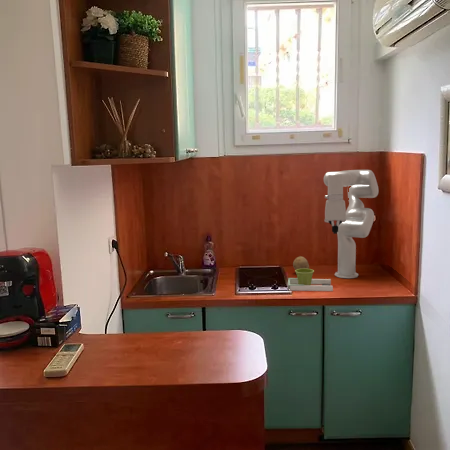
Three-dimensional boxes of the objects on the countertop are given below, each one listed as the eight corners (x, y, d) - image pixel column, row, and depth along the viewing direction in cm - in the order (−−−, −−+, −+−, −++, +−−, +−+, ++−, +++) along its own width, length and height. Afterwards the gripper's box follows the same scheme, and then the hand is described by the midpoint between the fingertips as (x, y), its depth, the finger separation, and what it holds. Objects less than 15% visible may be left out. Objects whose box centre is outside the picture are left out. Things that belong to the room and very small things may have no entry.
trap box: (288, 283, 246) (288, 278, 246) (330, 283, 243) (330, 278, 243) (288, 290, 233) (287, 284, 233) (332, 291, 230) (332, 285, 230)
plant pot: (313, 290, 233) (313, 273, 232) (294, 289, 235) (294, 272, 234) (314, 285, 242) (314, 268, 241) (296, 284, 244) (296, 268, 243)
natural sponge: (292, 271, 270) (292, 254, 269) (307, 271, 270) (307, 254, 269) (293, 275, 261) (293, 258, 260) (309, 275, 261) (309, 258, 260)
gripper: (320, 198, 232) (320, 234, 235) (351, 198, 230) (351, 234, 233) (319, 197, 240) (319, 232, 243) (349, 196, 238) (349, 232, 240)
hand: (335, 233), depth 238 cm, fingers closed
